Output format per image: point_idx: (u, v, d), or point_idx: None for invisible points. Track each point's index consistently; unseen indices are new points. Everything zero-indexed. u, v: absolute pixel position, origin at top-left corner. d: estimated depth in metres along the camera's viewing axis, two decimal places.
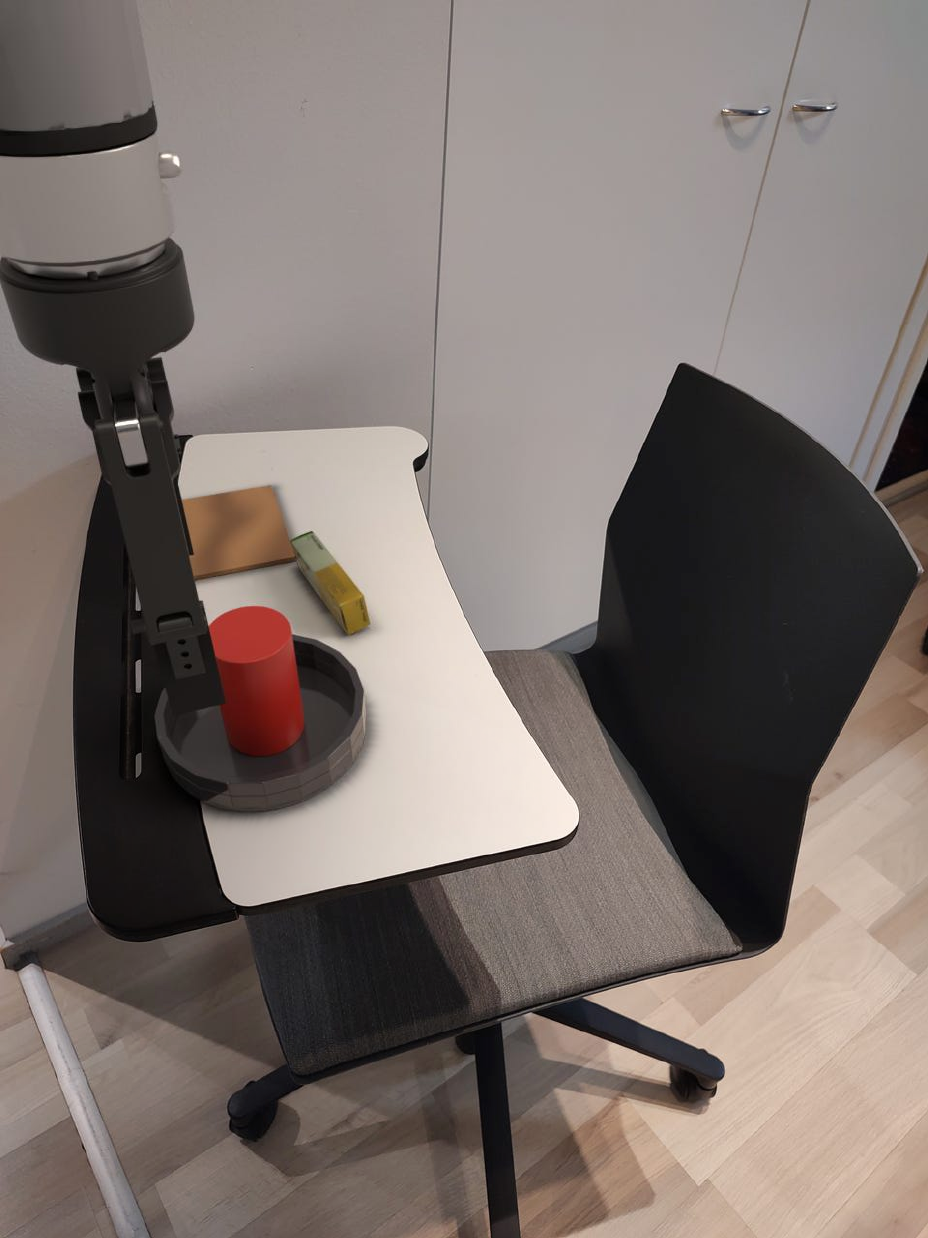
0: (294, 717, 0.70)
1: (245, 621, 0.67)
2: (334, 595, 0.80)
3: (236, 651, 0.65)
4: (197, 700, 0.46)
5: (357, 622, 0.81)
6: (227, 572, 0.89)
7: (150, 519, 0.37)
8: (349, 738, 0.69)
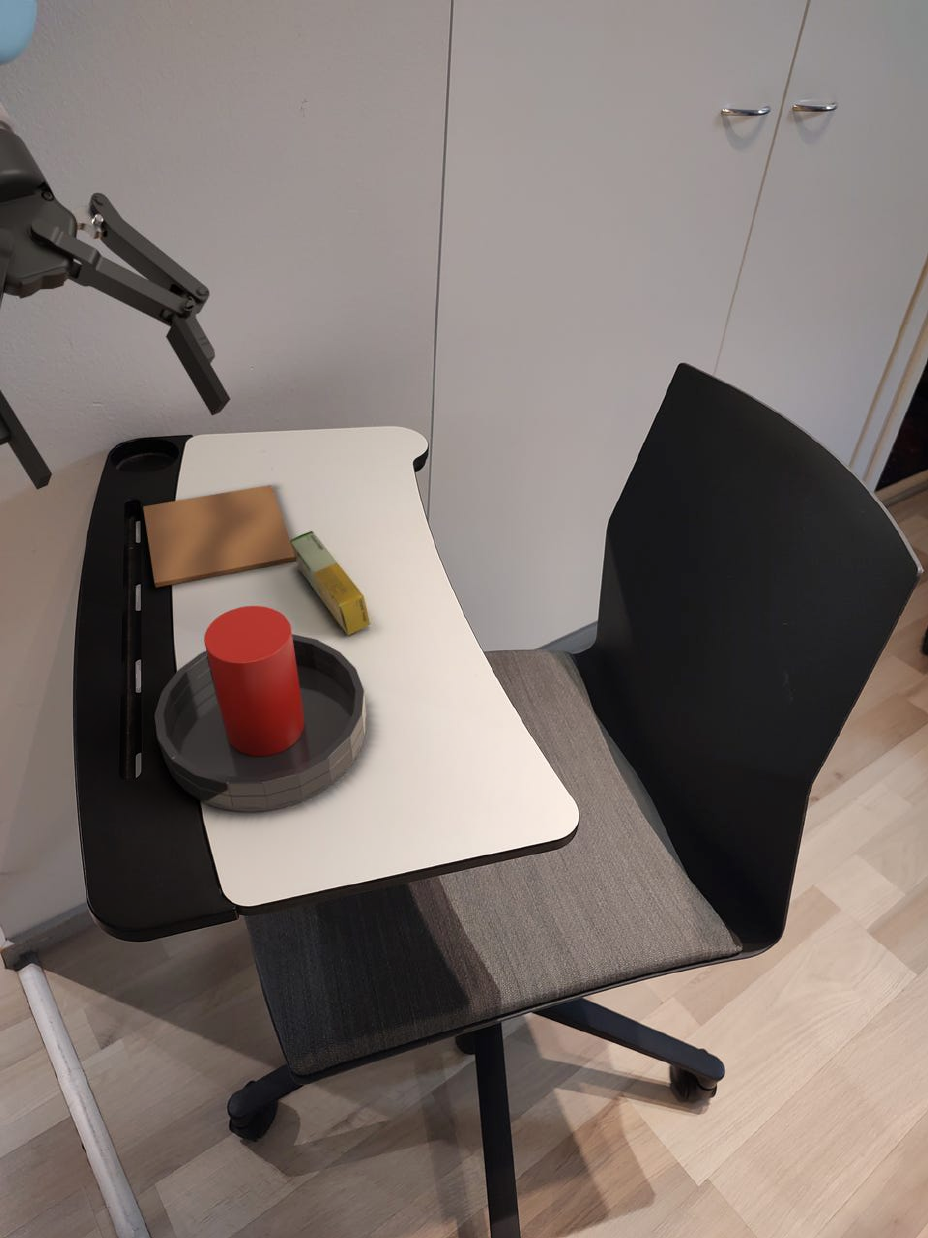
0: (294, 717, 0.70)
1: (245, 621, 0.67)
2: (334, 595, 0.80)
3: (236, 651, 0.65)
4: None
5: (357, 622, 0.81)
6: (227, 572, 0.89)
7: None
8: (349, 738, 0.69)
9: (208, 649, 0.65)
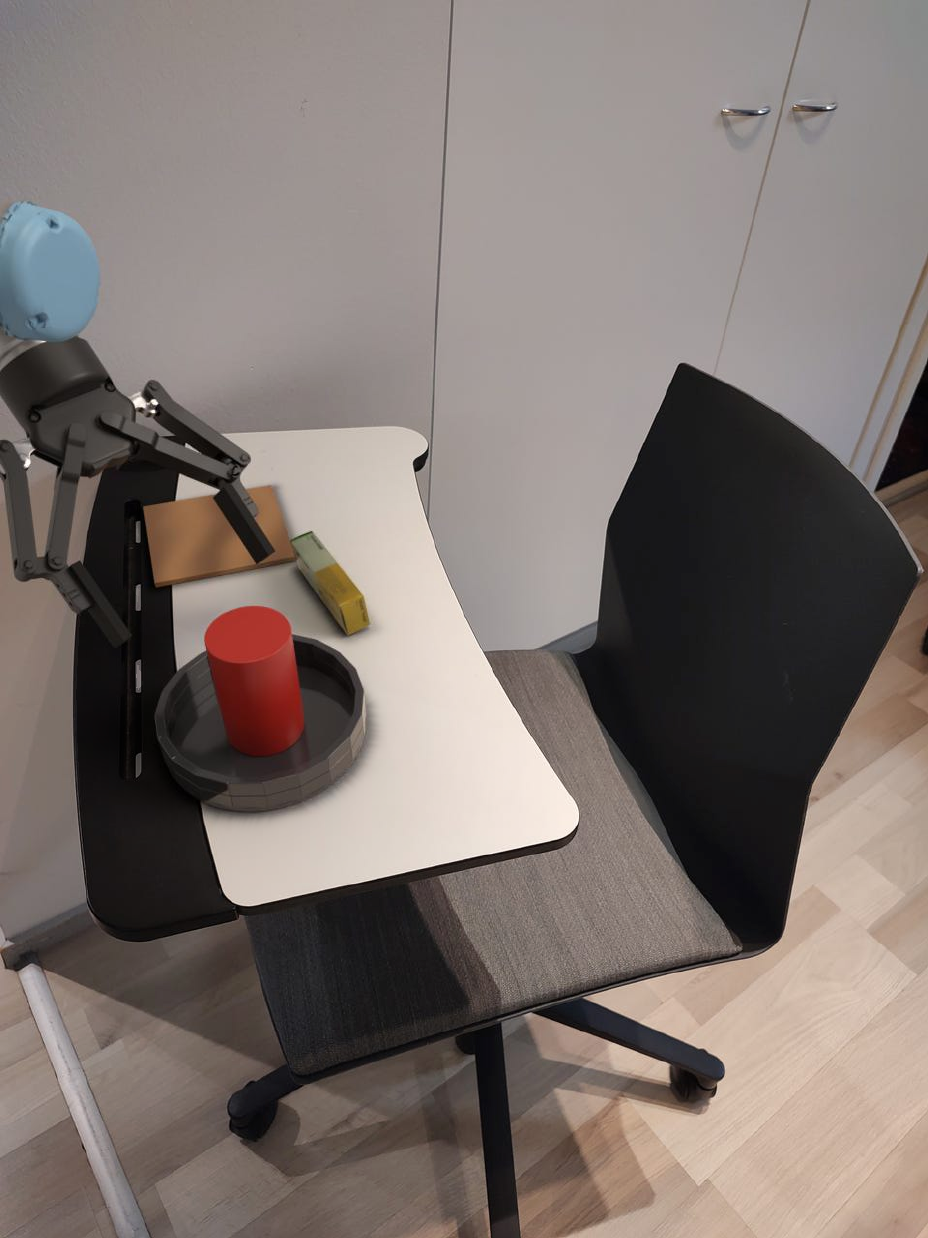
0: (294, 717, 0.70)
1: (245, 621, 0.67)
2: (334, 595, 0.80)
3: (236, 651, 0.65)
4: None
5: (356, 622, 0.81)
6: (227, 572, 0.89)
7: None
8: (349, 738, 0.69)
9: (208, 649, 0.65)
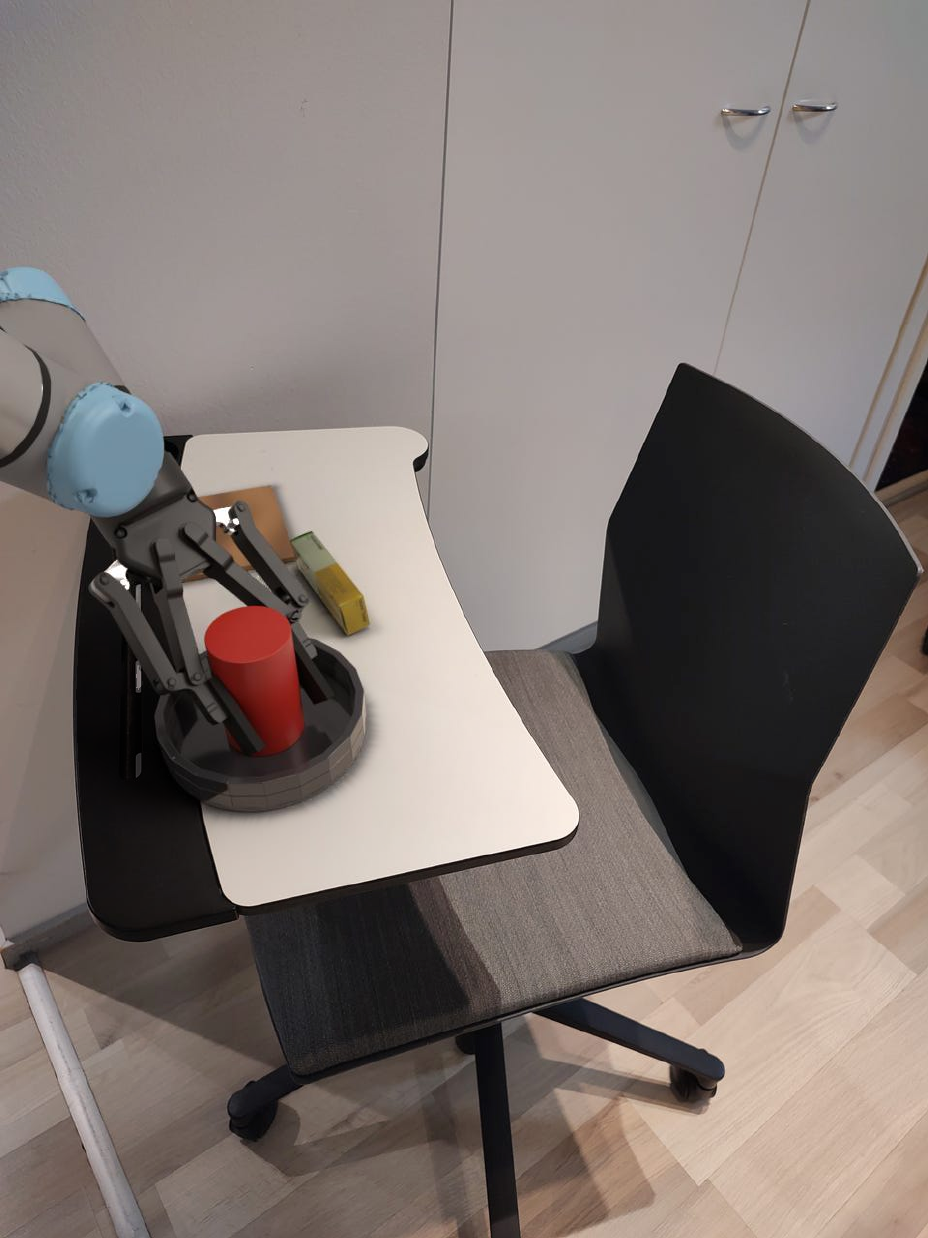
0: (294, 717, 0.70)
1: (245, 621, 0.67)
2: (334, 595, 0.80)
3: (236, 651, 0.65)
4: None
5: (356, 622, 0.81)
6: None
7: None
8: (349, 738, 0.69)
9: (208, 649, 0.65)
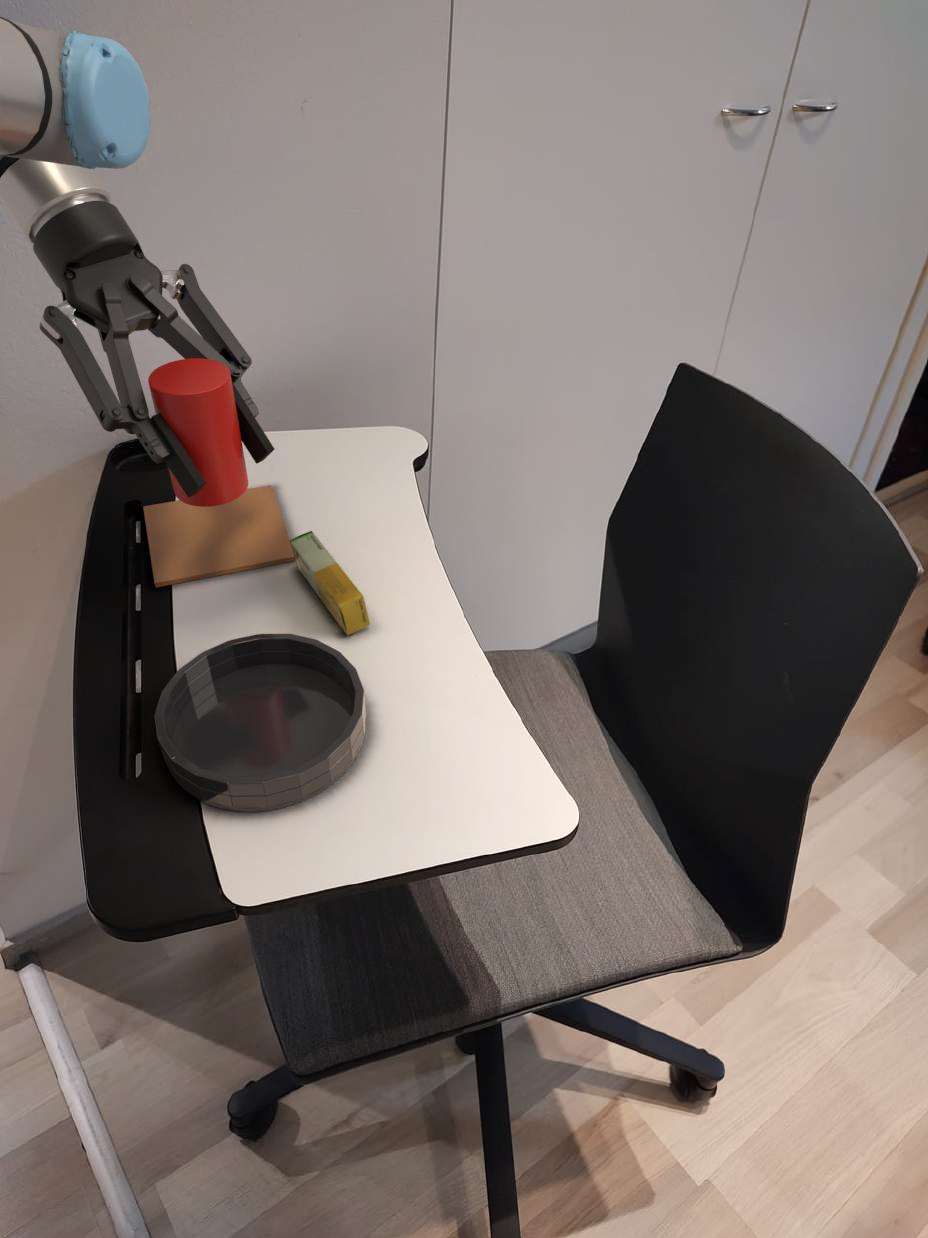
0: (236, 468, 0.75)
1: (188, 367, 0.72)
2: (333, 595, 0.80)
3: (177, 386, 0.69)
4: None
5: (356, 622, 0.81)
6: (227, 572, 0.89)
7: None
8: (349, 738, 0.69)
9: (151, 385, 0.69)
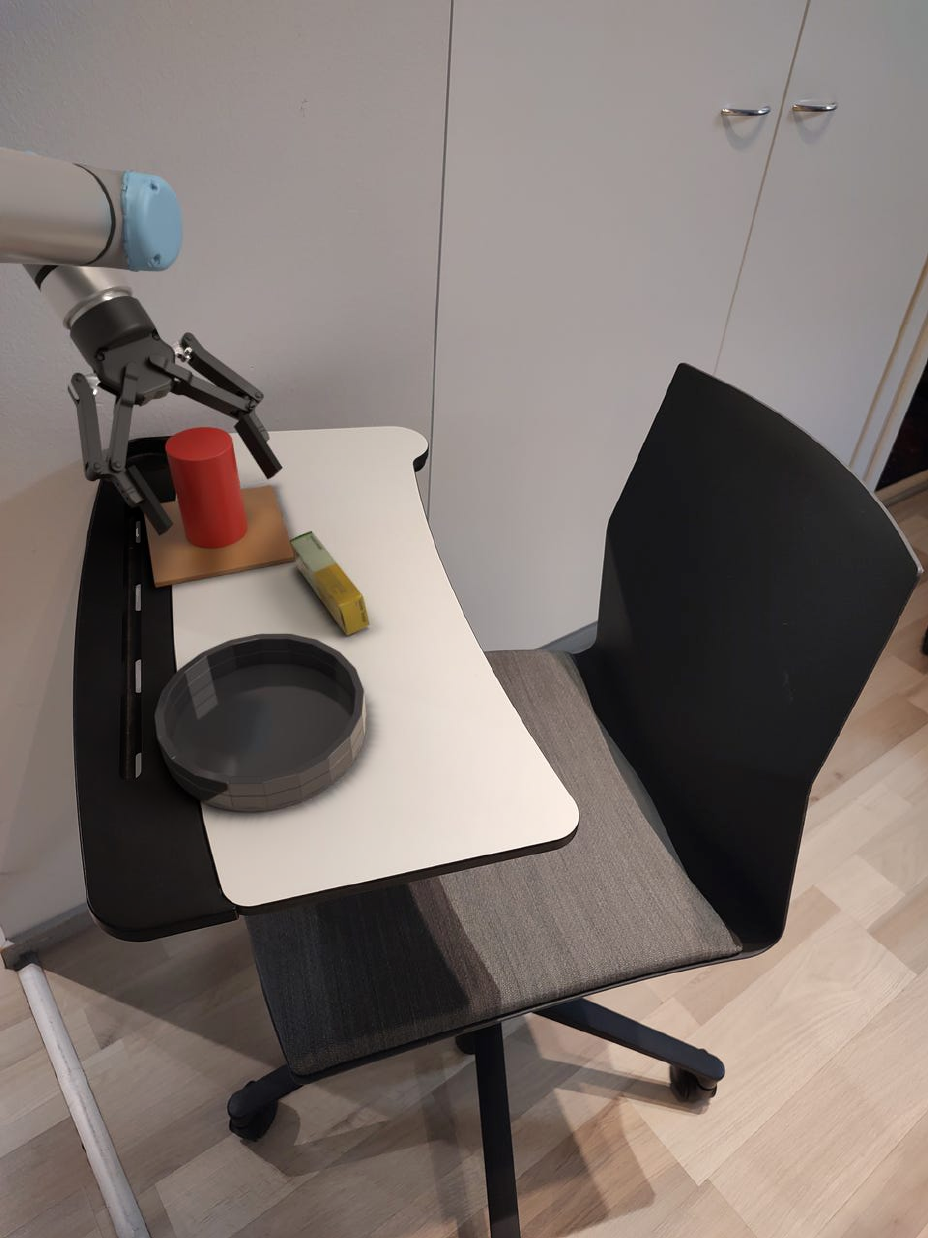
0: (237, 516, 0.91)
1: (197, 435, 0.87)
2: (333, 595, 0.80)
3: (189, 453, 0.85)
4: None
5: (356, 622, 0.81)
6: (227, 572, 0.89)
7: None
8: (349, 738, 0.69)
9: (168, 452, 0.85)
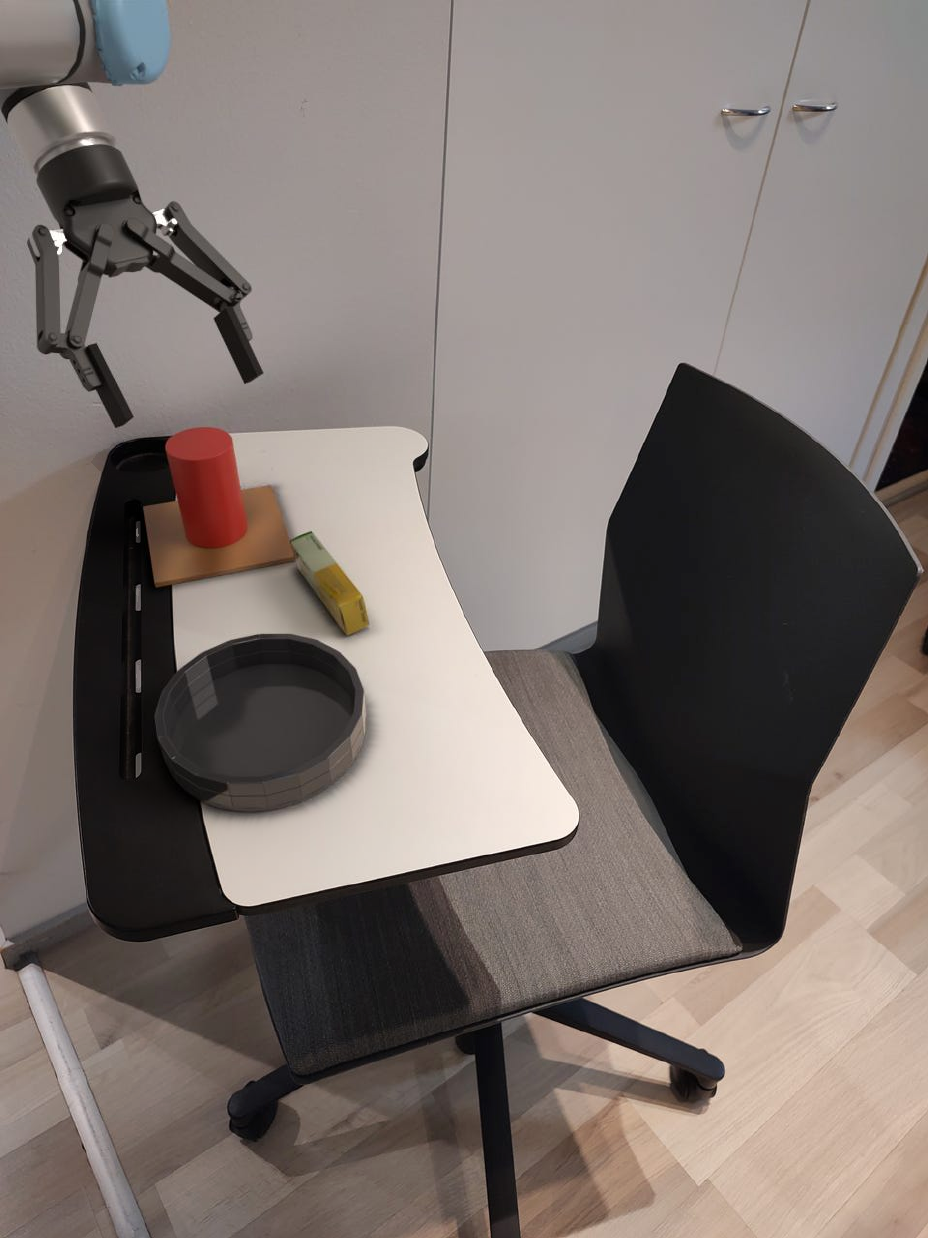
0: (237, 516, 0.91)
1: (197, 435, 0.87)
2: (333, 595, 0.80)
3: (189, 453, 0.85)
4: None
5: (356, 622, 0.81)
6: (227, 572, 0.89)
7: None
8: (349, 738, 0.69)
9: (168, 452, 0.85)
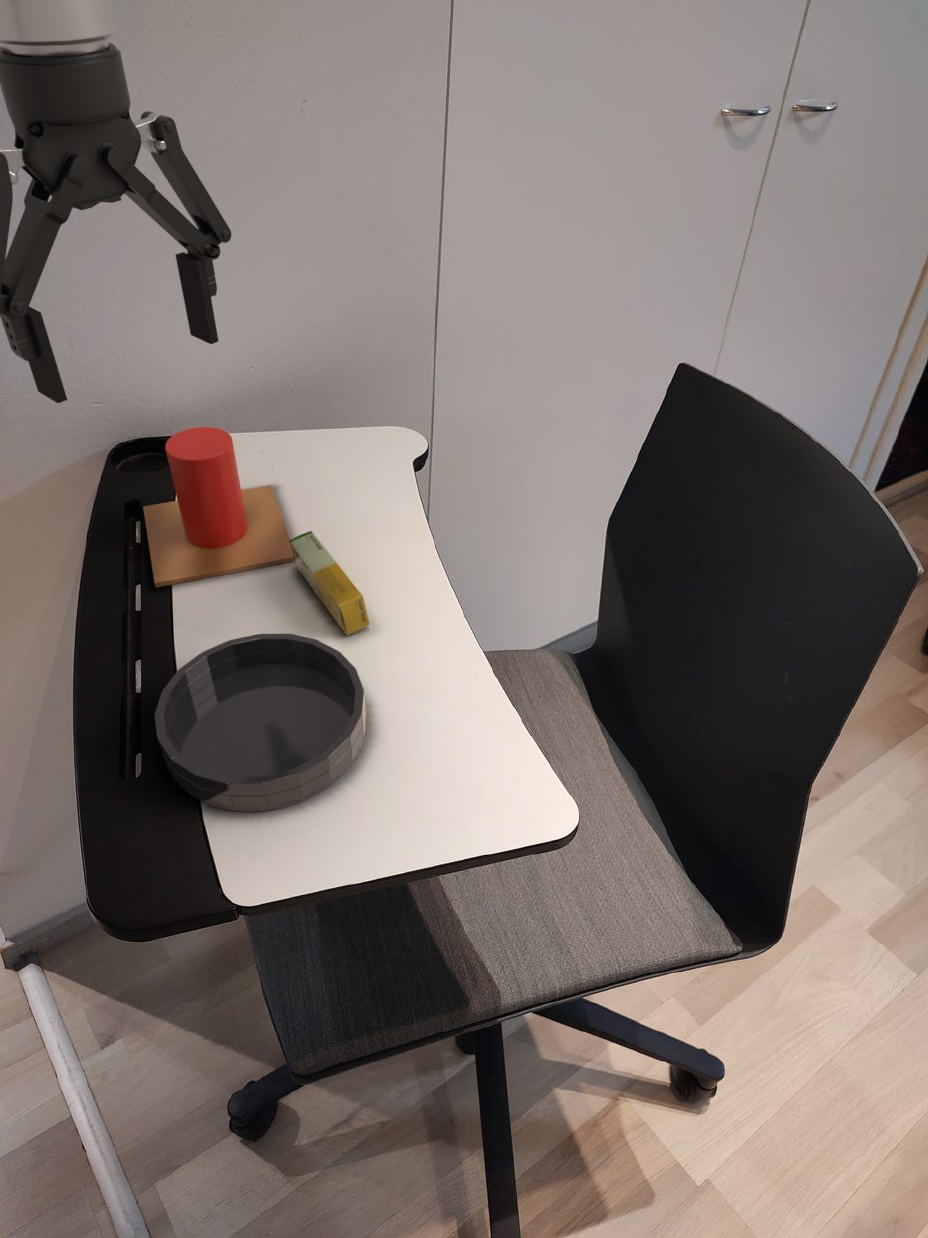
0: (237, 516, 0.91)
1: (197, 435, 0.87)
2: (333, 595, 0.80)
3: (189, 453, 0.85)
4: None
5: (356, 622, 0.81)
6: (227, 572, 0.89)
7: None
8: (349, 738, 0.69)
9: (168, 452, 0.85)
